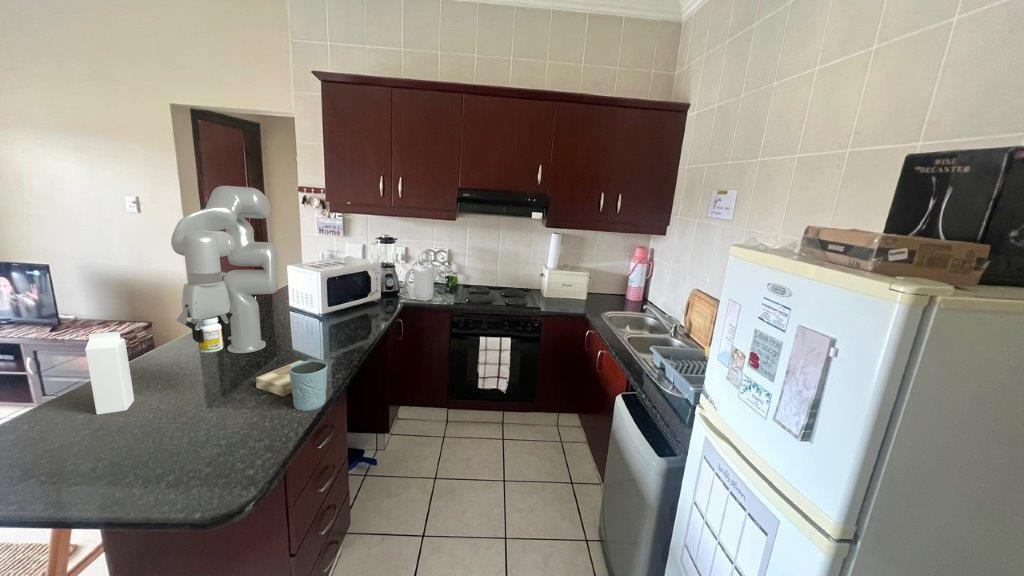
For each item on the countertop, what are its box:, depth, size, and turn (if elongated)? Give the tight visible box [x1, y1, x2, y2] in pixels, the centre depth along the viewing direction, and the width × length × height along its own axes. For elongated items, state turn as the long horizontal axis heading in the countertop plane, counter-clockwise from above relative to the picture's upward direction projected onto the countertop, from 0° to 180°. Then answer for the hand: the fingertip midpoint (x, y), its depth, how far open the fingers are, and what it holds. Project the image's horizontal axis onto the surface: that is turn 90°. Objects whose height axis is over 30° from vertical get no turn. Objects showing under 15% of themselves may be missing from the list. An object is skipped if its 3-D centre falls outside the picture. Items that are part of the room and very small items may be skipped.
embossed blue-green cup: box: [289, 359, 329, 412], centre depth 114 cm, size 10×10×12 cm
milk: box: [84, 331, 135, 415], centre depth 103 cm, size 6×6×22 cm
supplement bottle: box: [198, 316, 224, 353], centre depth 109 cm, size 5×5×10 cm
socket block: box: [255, 359, 305, 397], centre depth 126 cm, size 12×16×4 cm
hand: (211, 338), depth 110 cm, fingers closed on supplement bottle, 5 cm apart
